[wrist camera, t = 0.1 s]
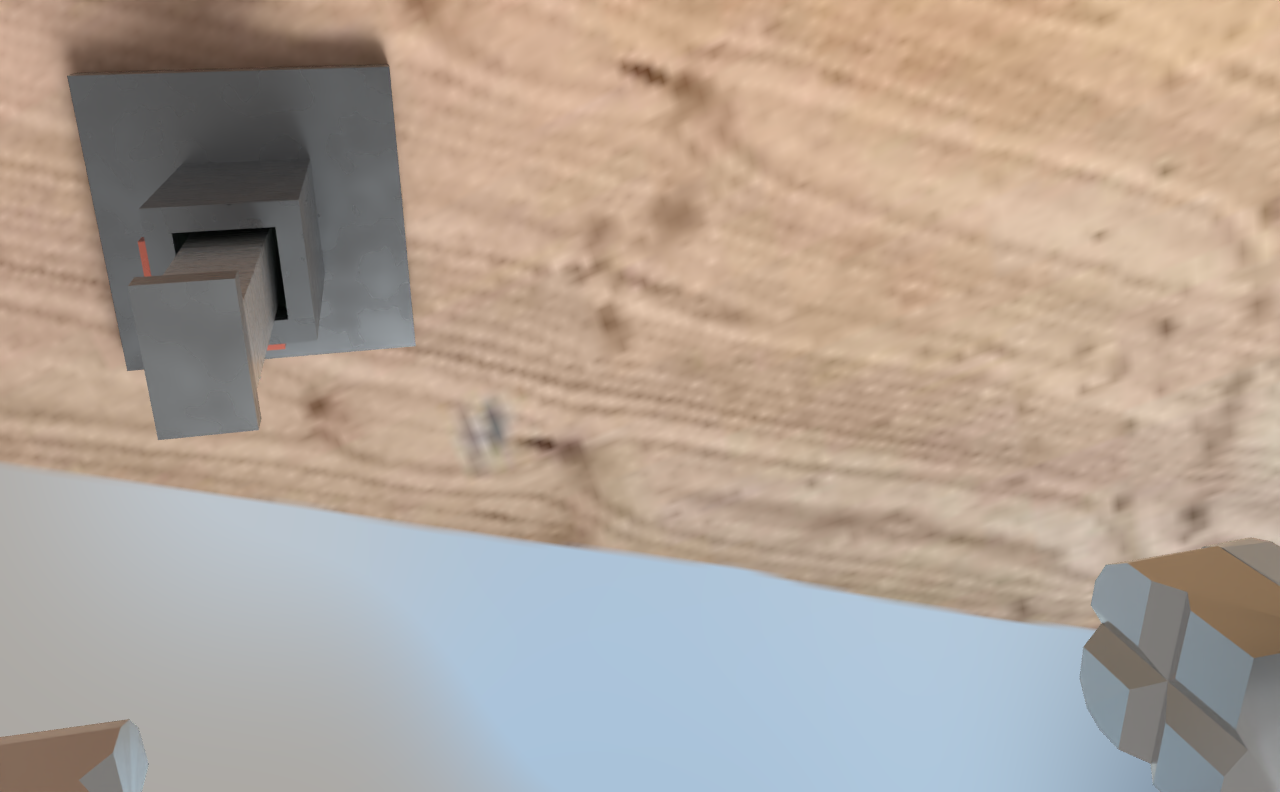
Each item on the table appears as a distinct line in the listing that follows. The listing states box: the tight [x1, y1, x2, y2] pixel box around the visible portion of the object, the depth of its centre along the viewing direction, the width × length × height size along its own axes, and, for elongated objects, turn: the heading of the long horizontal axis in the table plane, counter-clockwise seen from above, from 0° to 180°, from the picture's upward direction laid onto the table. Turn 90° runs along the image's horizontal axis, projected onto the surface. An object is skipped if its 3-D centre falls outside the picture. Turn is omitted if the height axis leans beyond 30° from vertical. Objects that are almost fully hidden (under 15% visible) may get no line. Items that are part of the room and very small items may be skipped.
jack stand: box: [67, 64, 416, 371], centre depth 47 cm, size 14×14×12 cm
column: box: [128, 227, 283, 440], centre depth 41 cm, size 5×3×20 cm, turn 1°
